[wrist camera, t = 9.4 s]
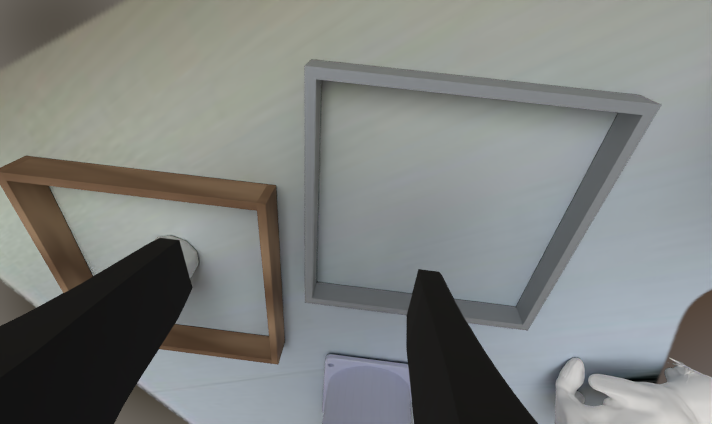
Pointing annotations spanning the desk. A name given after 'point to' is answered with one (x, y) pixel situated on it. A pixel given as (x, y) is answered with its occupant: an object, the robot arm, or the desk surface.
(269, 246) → the brown wooden frame
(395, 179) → the desk surface
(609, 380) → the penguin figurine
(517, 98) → the grey square frame
